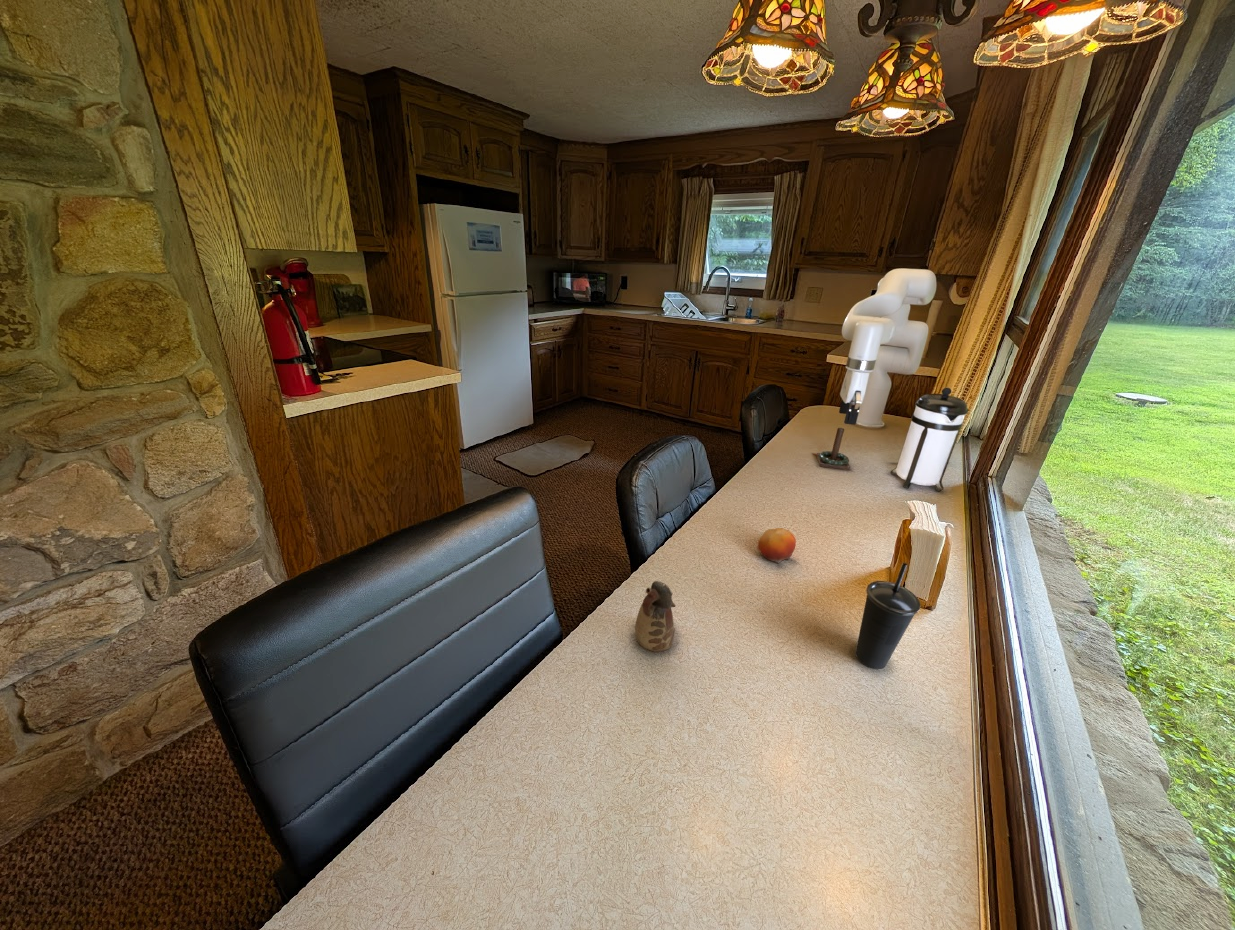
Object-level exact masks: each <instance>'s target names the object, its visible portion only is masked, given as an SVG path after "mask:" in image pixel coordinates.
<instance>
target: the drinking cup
mask: <svg viewBox="0 0 1235 930" xmlns="http://www.w3.org/2000/svg"><path fill="white" fill-rule="evenodd" d="M907 568H908V563H906V562H902V564H901V566H900V570H899V571H898V575H897V577H896V580H895V583H894V582H891V581H886V580H875V581H872V582H870V583H869V584H868V585H867V586H866V589H865V592H866V597H865V603H864V609H863V614H862V618H861V623H860V628H859V632H858V638H857V643H856V647H855V656H856V658H857V660H858V661H859V662H860V663H861V664H863V665H864V666H866V667H868V668H870V669H873V670H881V669H884V668H885V667H886V666H887V664H888V662H889V661H890V659H891V657H892V656H893V654H894V652H895V650H896V648H897V647H898V645H899V644H900V641H901V639H902V638H903V636H904V635H905V632H906V631H907V629H908V628H909V625H910V623H911V622H912V620H913V618H914V616H915V615H916V614H918V612H920V609H921V602H920V600H919V598H918V596H916V594H914V593H913V592H912V591H911V590H909V589H908V588H906V587H904V586H902V585H901V584H902V581H903V579H904V575H905V573H906V570H907Z"/></svg>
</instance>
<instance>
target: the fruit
mask: <svg viewBox="0 0 1235 930" xmlns="http://www.w3.org/2000/svg"><path fill="white" fill-rule="evenodd" d="M796 545H797V541H796V537H795V535H794V534H793V533H792V532H791V531H790V530H788V529H786V528H784V527H776V528H768V529H766V530H765V531H764V532H763V534H762V535H760V537H759V539H758V542H757V548H758V551H759V553H760V555H762V556H763V557H764V558H766V559H767V560H768V561H772V562H775V563H777V564H781V562H783V561H784V560H786V559H788V560H790V561H793V559H792V558H791V557H792V556H793V554H794V552H795V550H796Z"/></svg>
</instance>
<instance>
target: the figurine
mask: <svg viewBox="0 0 1235 930" xmlns="http://www.w3.org/2000/svg"><path fill="white" fill-rule="evenodd" d="M645 593H646V595H645V597H644V598H643V600H642V603H641V605H640V607H639V610H638V613H637V616H636V620H635V625H634V630H635V631H634V636H635V639H636V641H637V643H638V644H639V645H640V646H641V647H642V648H644V649H645V650H648V651H651V652H654V653H656V652H663V651H667V650H668V649H670V648H671V647H672V645H673V642H674V637H675V632H676V629H675V623H674V613H673V611H672V608H676V607H677V606H676V605H677V604H675V603H674V602H673V599H672V598H673V592H672V589H671V588H670V587H669V585H668V584H666V583H665V582H663V581H659V580H655V581H653V582H652V584H651V585H650V587H647V588H646V589H645Z"/></svg>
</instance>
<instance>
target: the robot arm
mask: <svg viewBox="0 0 1235 930" xmlns="http://www.w3.org/2000/svg"><path fill="white" fill-rule="evenodd" d="M936 291H937V277H936V274H935V273H934V272H933V271H932V270H930V269H925V268H922V269H921V268H903V267H902V268H901V267H900V268H894V269H892V270H890V271H888V272H887V273H885V275H884V276H883V277H882V278H881V279H880V280H879V281H878V283H877V290H876V292H875V294H873V295H871V296H868V297H866V298H864V299H862V300H860V301H858V302H856V303H855V304H854V305H853V306H852V307H851V308H850V310H849V312H848V313H847V316H846V318H845V319H844V322H843V324H842V327H841V336H842V338H843V339H845V340H846V341H851V342H850V346H849V347H850V348H849V352H848V356H847V360H846V365H845V369H846V372H845V375H844V379H843V382H842V385H841V389H840V391H839V396H840V398H841V401H840V406H839V410H838V413H839V414H842V415H845V417H844V422H843V423H844V424H845V425H851V426H855V425H859V426H862V427H867V428H882V427H884V426H885V422H884V421H882V419H883V416H884V413H885V409H886V405H887V402H888V398H889V395H890V391H891V388H892V379H891V377H890V375H889V374H888V373H890V374H898V375H905V376H906V375H907V376H912V375H914V374H916V373H917V371H918V370H919V367H920V364H921V361H922V358H923V355H924V350H925V347H926V343H927V339H928V336H929V326H928V324H927V323H926V322H924V321H919V320H918V321H917V320H909V315H910V311H911V305H914V306H915V305H916V306H926V305H928V304H930V303H931V301H932V300H933V299H934V297H935V295H936Z"/></svg>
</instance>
